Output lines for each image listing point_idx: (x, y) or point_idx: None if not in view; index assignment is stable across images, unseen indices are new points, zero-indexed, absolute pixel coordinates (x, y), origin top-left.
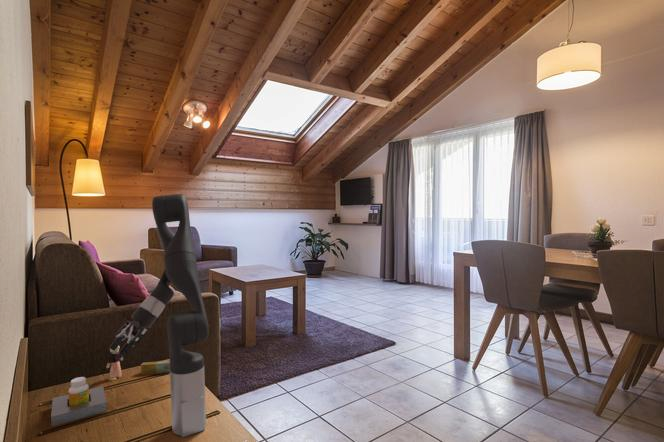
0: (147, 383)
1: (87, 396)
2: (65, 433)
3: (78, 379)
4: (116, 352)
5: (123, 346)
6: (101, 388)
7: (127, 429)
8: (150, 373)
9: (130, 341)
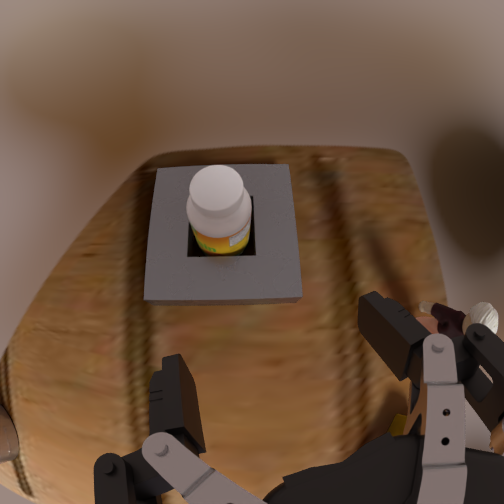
0: (302, 438)
1: (202, 243)
2: (108, 212)
3: (216, 186)
4: (464, 332)
5: (179, 396)
6: (281, 291)
7: (37, 334)
8: None
9: (149, 462)
